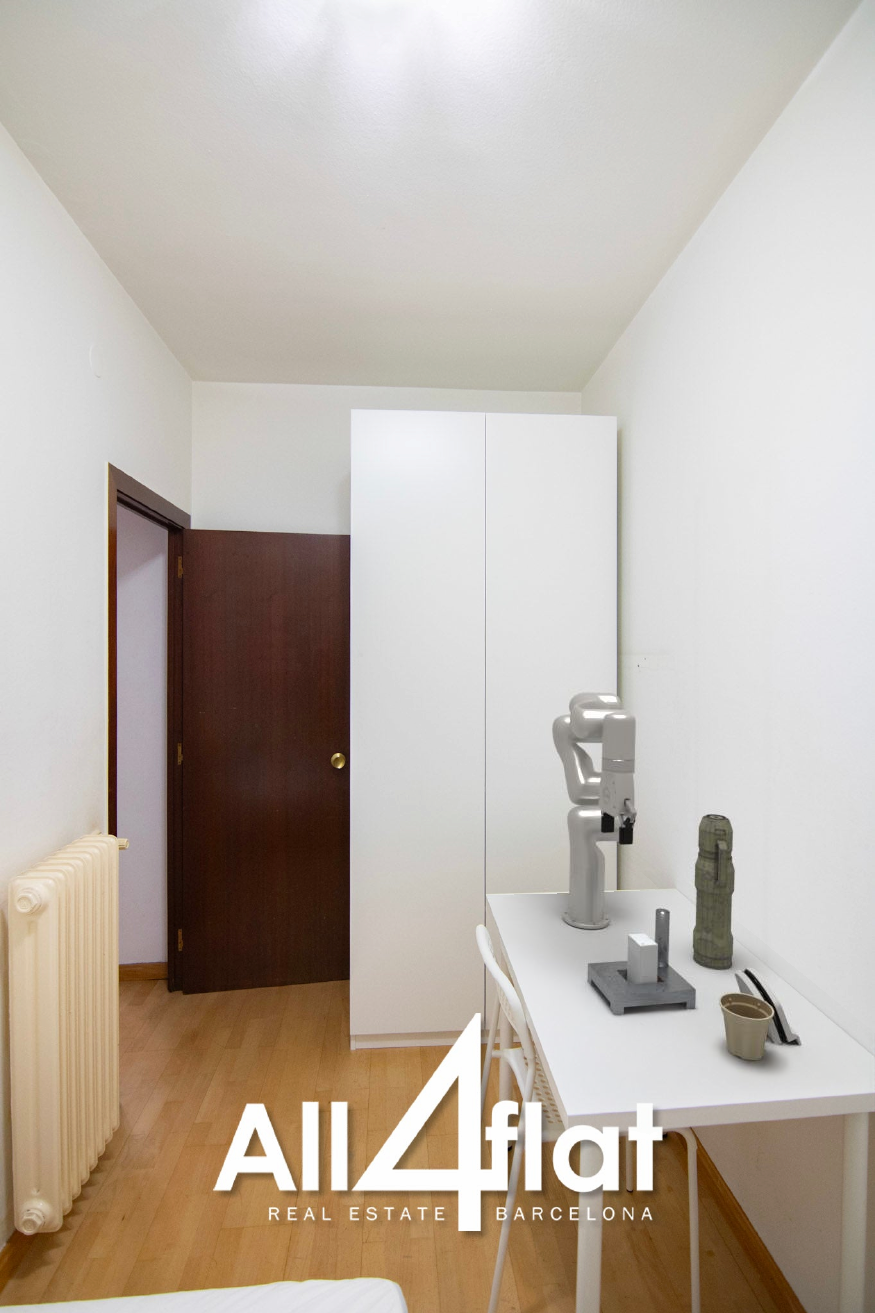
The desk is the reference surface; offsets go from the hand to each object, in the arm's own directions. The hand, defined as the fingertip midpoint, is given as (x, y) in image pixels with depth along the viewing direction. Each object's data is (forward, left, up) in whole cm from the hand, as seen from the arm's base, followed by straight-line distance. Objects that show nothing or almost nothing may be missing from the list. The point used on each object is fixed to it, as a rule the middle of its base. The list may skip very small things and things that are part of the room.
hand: (616, 838), depth 157 cm
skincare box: (+13, +1, -31) cm, 33 cm away
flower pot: (+35, +10, -31) cm, 47 cm away
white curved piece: (+26, +20, -31) cm, 45 cm away
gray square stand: (+13, 0, -30) cm, 33 cm away
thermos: (+1, +25, -31) cm, 39 cm away
